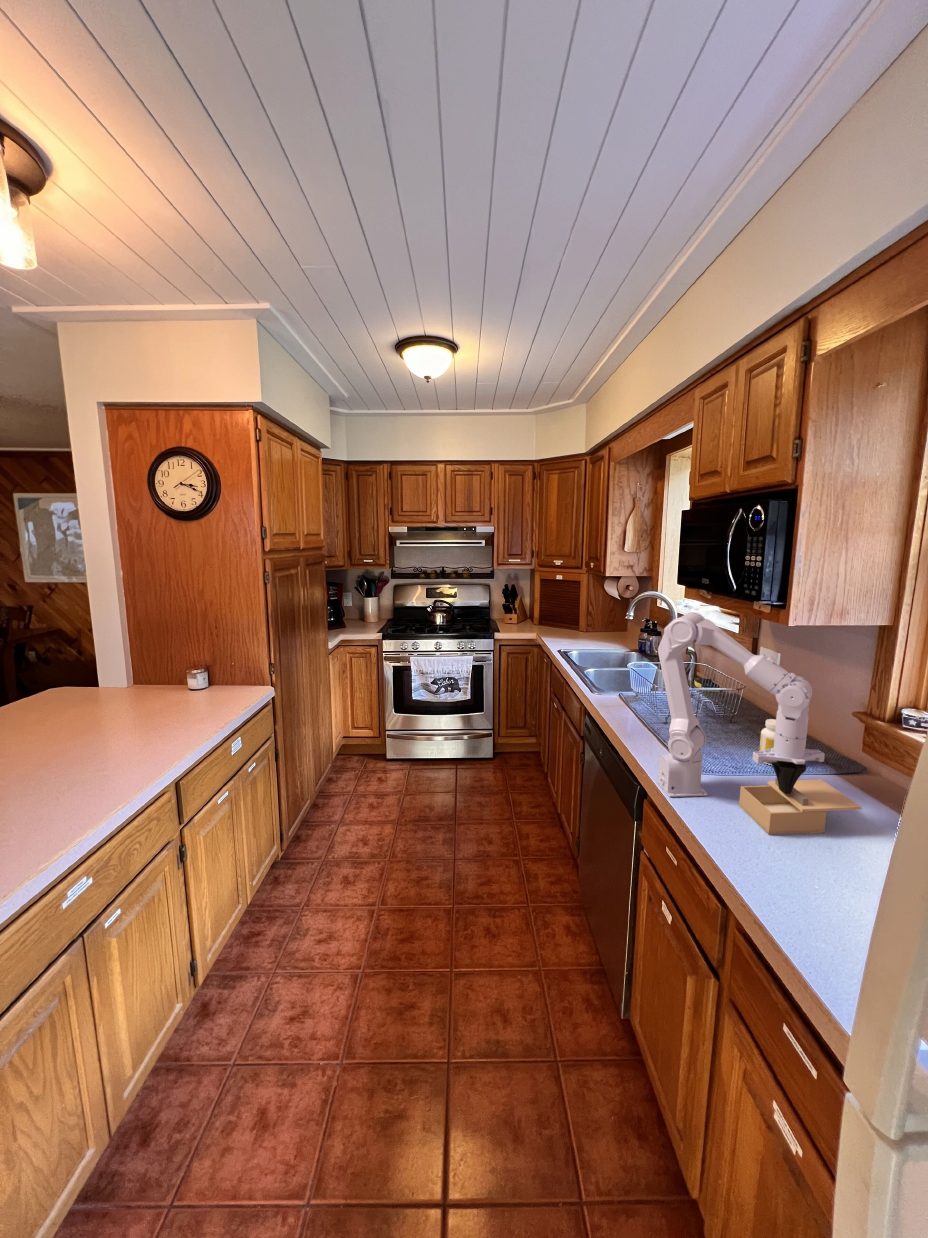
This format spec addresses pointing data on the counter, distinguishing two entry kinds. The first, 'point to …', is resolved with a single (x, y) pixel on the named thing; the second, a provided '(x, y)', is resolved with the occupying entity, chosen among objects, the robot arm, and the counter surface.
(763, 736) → the pill bottle
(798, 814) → the mailer box
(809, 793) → the lid
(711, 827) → the counter surface
